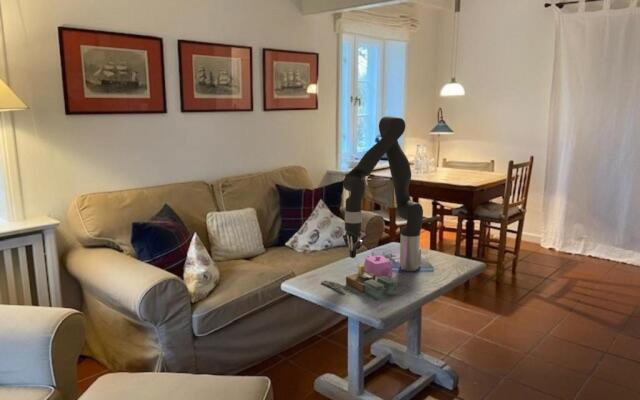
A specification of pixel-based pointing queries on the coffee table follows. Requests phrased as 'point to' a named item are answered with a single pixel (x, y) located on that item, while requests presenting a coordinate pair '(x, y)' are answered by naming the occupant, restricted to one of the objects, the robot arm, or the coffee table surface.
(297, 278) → the coffee table surface
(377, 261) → the teapot
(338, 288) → the driftwood
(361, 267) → the yellow-capped grey beam
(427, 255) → the coffee table surface
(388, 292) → the block set
